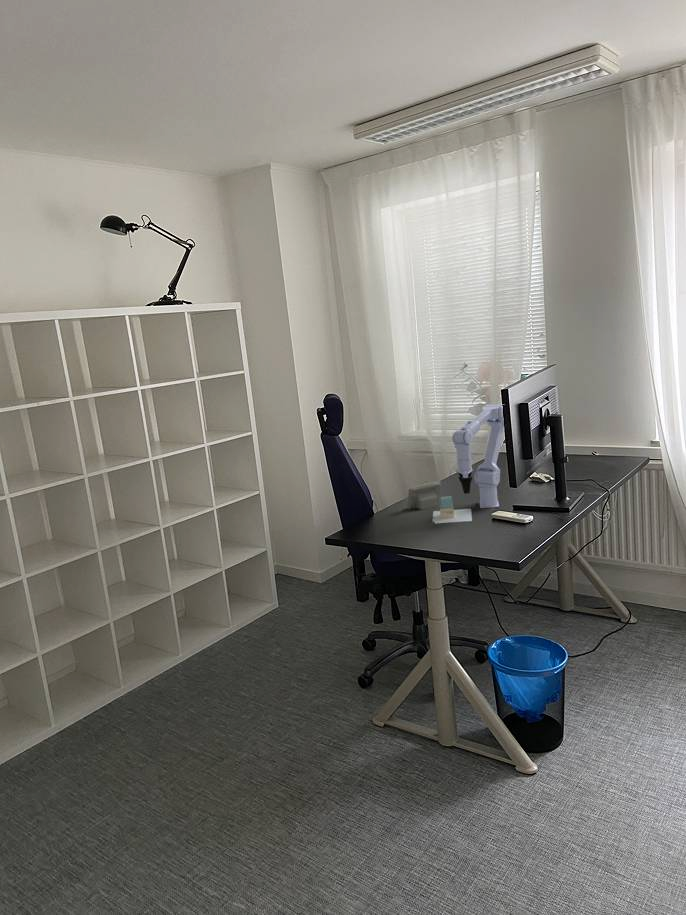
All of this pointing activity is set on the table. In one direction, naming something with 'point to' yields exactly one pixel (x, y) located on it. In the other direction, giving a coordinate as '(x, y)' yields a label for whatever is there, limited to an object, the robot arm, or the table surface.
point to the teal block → (446, 502)
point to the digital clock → (424, 496)
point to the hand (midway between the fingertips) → (466, 491)
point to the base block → (446, 513)
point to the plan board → (459, 516)
